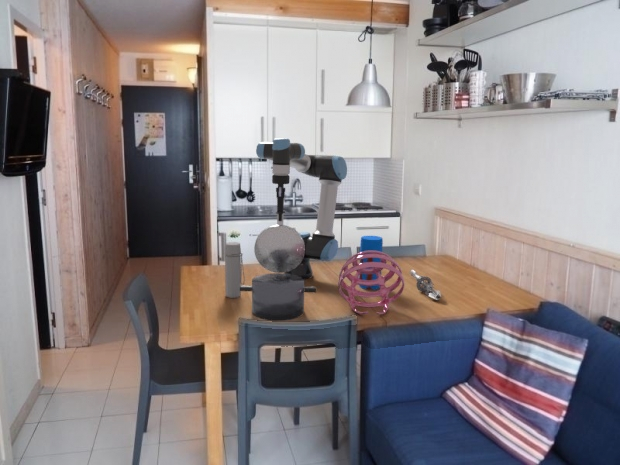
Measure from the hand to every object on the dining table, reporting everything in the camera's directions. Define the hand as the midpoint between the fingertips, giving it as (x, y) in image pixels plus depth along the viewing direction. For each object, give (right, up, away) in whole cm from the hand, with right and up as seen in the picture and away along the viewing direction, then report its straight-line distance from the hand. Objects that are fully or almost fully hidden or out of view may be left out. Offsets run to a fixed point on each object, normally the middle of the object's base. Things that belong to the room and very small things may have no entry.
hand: (280, 227), depth 228 cm
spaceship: (+69, -31, +25) cm, 80 cm away
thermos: (+43, -29, +31) cm, 61 cm away
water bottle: (-22, -32, +11) cm, 40 cm away
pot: (-1, -36, -8) cm, 37 cm away
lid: (0, -10, -4) cm, 10 cm away
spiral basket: (+39, -36, -4) cm, 53 cm away
